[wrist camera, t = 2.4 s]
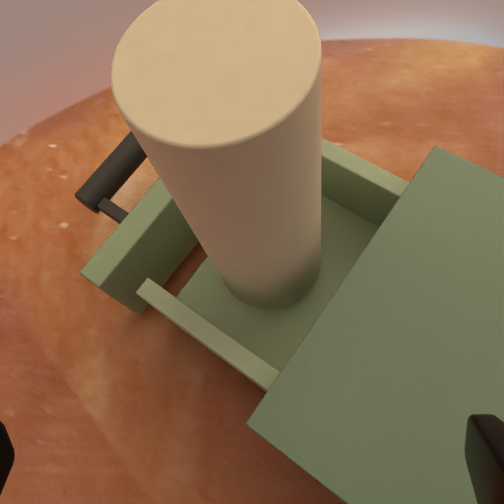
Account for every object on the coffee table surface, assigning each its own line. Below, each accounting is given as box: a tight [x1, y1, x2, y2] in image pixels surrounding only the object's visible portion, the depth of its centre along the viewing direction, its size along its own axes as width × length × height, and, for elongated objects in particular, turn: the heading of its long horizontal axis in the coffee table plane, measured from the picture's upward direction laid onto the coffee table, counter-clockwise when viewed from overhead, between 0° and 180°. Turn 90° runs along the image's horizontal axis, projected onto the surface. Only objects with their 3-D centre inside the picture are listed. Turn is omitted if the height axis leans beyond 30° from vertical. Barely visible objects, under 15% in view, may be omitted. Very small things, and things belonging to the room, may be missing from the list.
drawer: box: [75, 131, 409, 392], centre depth 22 cm, size 17×11×5 cm
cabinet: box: [246, 146, 504, 504], centre depth 18 cm, size 14×13×7 cm
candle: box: [111, 0, 322, 309], centre depth 17 cm, size 5×5×13 cm
